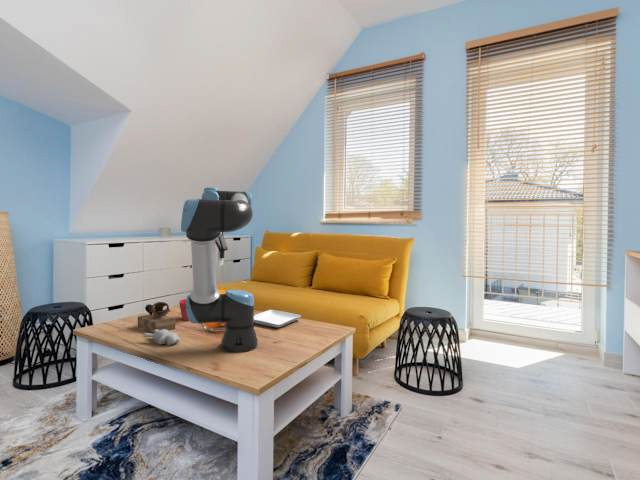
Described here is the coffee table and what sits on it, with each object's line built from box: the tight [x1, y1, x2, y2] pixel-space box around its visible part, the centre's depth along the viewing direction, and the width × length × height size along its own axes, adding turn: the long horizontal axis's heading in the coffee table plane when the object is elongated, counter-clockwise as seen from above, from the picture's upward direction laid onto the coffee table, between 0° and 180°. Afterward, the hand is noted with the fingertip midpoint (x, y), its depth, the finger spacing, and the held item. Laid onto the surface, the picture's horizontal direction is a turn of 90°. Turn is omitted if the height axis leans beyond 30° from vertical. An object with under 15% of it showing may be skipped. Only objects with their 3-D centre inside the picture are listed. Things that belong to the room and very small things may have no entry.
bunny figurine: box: [143, 329, 181, 346], centre depth 160 cm, size 10×5×15 cm
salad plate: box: [254, 309, 302, 328], centre depth 195 cm, size 21×21×3 cm
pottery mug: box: [144, 301, 171, 319], centre depth 181 cm, size 12×10×8 cm
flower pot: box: [179, 298, 190, 322], centre depth 198 cm, size 11×11×10 cm
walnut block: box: [137, 313, 176, 334], centre depth 180 cm, size 16×10×5 cm, turn 54°
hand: (211, 264), depth 181 cm, fingers open, 13 cm apart
